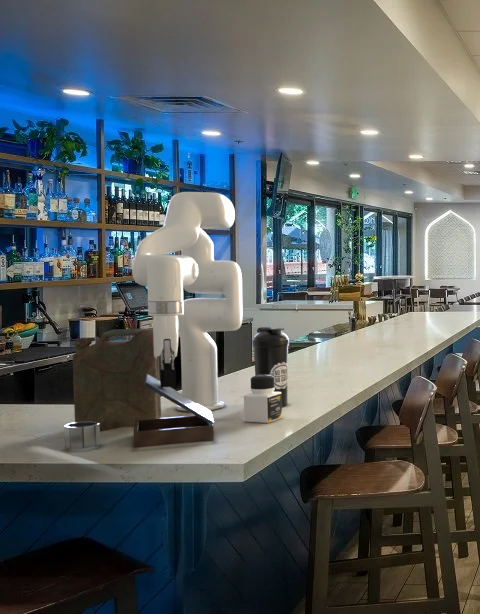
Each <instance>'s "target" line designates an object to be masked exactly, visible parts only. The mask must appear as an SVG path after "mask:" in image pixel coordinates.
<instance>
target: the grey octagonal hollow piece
mask: <svg viewBox="0 0 480 614" xmlns="http://www.w3.org/2000/svg"><path fill="white" fill-rule="evenodd" d="M63 435H64V448H67V449H87V448H91V447H96V446H98V445H99V444H101V431H100V425H99V422H95V421H84V422H75V421H74V422H69V423H67V424H65V425H64V426H63Z"/></svg>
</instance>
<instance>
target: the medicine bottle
mask: <svg viewBox="0 0 480 614" xmlns="http://www.w3.org/2000/svg"><path fill="white" fill-rule="evenodd" d="M274 390H275V378H274V377H273V376H271V375H256V376H255V375H253V376H251V377H250V392H251V393H247V394H244V395H243V420H244V422H245V423H263V424H269V423H272V422H274V421H277V420H280V419H282V418H283V407H282V393H281V392H274Z"/></svg>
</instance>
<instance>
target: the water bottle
mask: <svg viewBox="0 0 480 614" xmlns="http://www.w3.org/2000/svg"><path fill="white" fill-rule="evenodd" d="M284 330H285V327H276V328H272V327H271V326H260V327H258V328H257V329H256V333H255V335H254V336H253V338H252V339H251V341H252V347H253V356H254V360H253V361H254V376H256V375H271V376H273V377H274V378H275V390H274V392H281V393H282V408H284V407H287V406H288V392H289V391H288V387H289V385H288V384H289V383H288V382H289V381H288V379H289V378H288V377H289V346H290V337H289V336H288V335H287V333H285V332H283V331H284Z"/></svg>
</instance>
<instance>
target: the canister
mask: <svg viewBox="0 0 480 614" xmlns="http://www.w3.org/2000/svg"><path fill="white" fill-rule="evenodd" d="M113 336H114V337H117V336H118V337H119V336H120V337H121V336H133V337H131V338H130V339H129V340H128V339H126V340H111V337H113ZM96 339H98V341H97V342H96V343H93V342H95V341H96ZM92 343H93V344H92ZM73 346H74V347H75V353H73V355H72V374H73V375H72V376H73V380H72V381H73V383H72V384H73V407H74V409H73V410H74V423H75V422H84V421H95V422H99V425H100V432H103V431H109V430H110V431H111V430H115V429H121V428H134V425H135V420H143V419H156V418H162V417H161V416H162V405H161V404H162V403H161V402H162V401H161V395H159V394H158V393H156V392H154V391H153V390H151V389H149V388H147V387H146V386H144V380H145V376H146V374H149V375H150V376H152V377H154V378H155V379H157V380H159V381H160V356H157V358H155V357H154V342H153V328H150V327H147V328H125V329H121V328H120V329H110V330H108V331H105V332H103V333H102V334H101V335H100V337H99V336H93V337H80V338H77V339H74V341H73Z"/></svg>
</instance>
